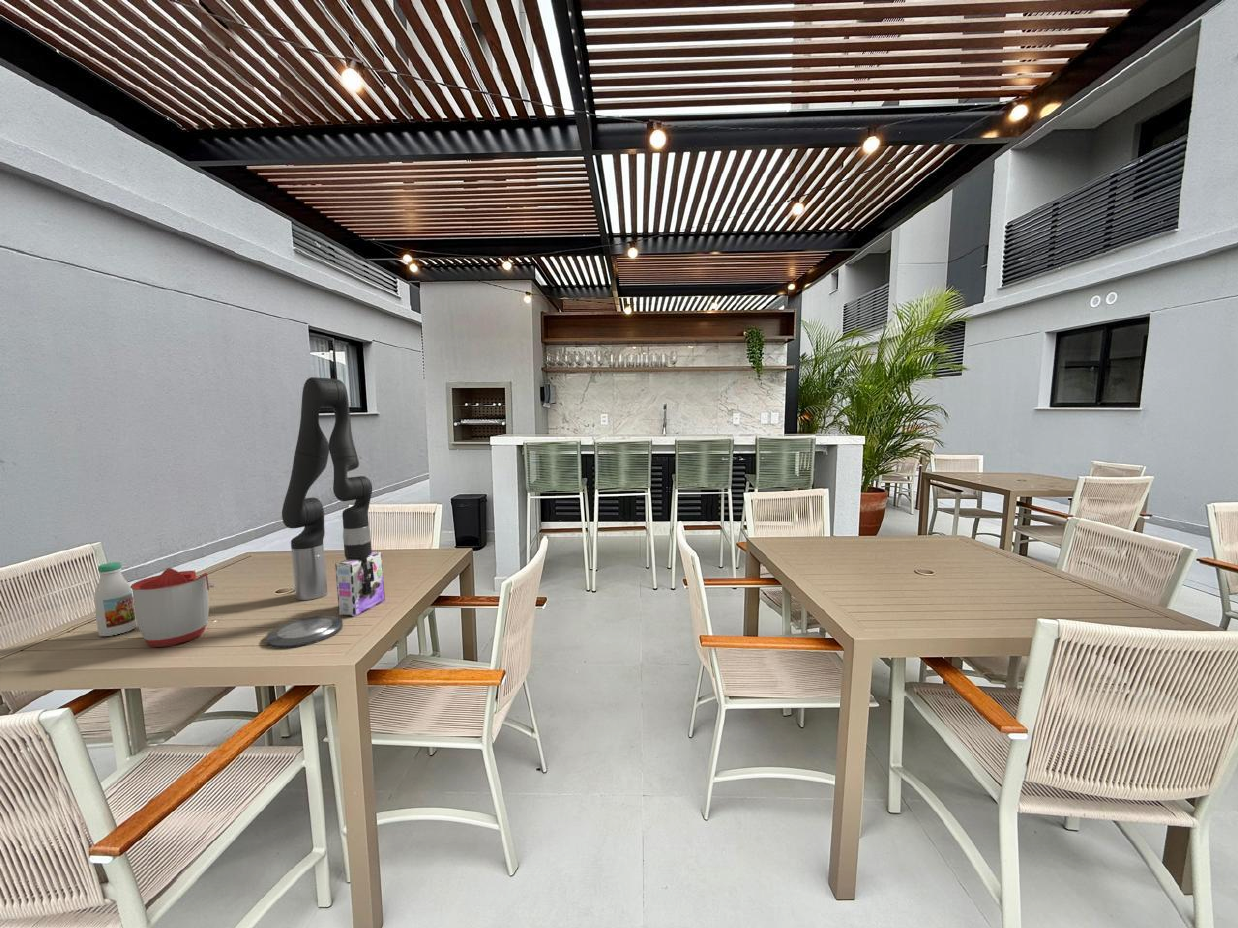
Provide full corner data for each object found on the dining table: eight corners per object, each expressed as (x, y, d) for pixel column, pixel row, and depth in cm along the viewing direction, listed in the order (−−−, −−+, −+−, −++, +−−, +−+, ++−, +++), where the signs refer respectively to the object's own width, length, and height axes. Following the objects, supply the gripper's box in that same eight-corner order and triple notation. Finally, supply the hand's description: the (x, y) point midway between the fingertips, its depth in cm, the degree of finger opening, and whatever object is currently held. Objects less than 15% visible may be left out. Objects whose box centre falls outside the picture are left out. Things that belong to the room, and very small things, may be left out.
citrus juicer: (232, 629, 144) (225, 561, 142) (156, 655, 128) (147, 579, 127) (201, 621, 151) (193, 556, 149) (125, 646, 135) (116, 573, 133)
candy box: (354, 617, 150) (350, 563, 149) (338, 616, 152) (333, 562, 150) (385, 600, 164) (382, 551, 162) (370, 599, 165) (366, 550, 164)
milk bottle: (93, 640, 139) (84, 569, 137) (105, 630, 146) (97, 562, 144) (130, 633, 143) (121, 565, 141) (140, 624, 150) (132, 558, 148)
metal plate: (258, 635, 139) (257, 630, 139) (329, 615, 152) (328, 610, 152) (278, 654, 127) (277, 648, 127) (353, 630, 141) (352, 625, 140)
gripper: (335, 540, 158) (339, 590, 159) (354, 546, 148) (358, 600, 150) (360, 535, 163) (364, 584, 165) (379, 541, 154) (383, 592, 155)
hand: (361, 591), depth 157 cm, fingers open, 8 cm apart
